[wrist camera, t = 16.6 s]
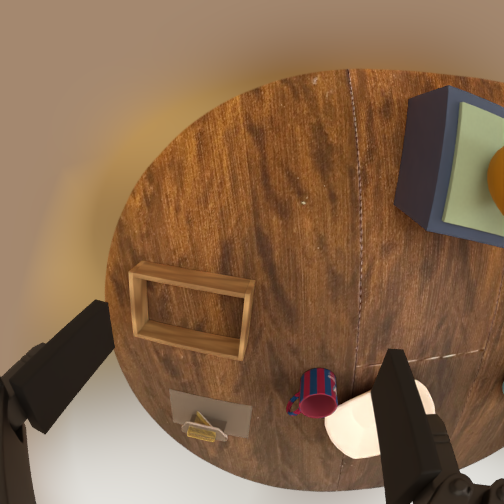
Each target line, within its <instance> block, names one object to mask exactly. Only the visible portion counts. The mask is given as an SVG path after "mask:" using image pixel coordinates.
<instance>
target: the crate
mask: <svg viewBox="0 0 504 504" xmlns="http://www.w3.org/2000/svg"><path fill="white" fill-rule="evenodd" d="M460 102H465V103H468V104H470V105H473V106H475V107H478V108H480V109H483V110H485V111H488V112H490V113H492V114H495V115H497V116H499V117H502V118H504V107H501V106H499V105H497V104H495V103H493V102H490V101H488V100H486V99H483V98H481V97H478V96H476V95H473V94H471V93H468V92H466V91H463V90H461V89H458V88H455V87H452V86H450V85H448V86H445V87H442V88H439V89H436V90H433V91H430V92H427V93H424V94H421V95H418V96H415V97H413V98H410V99H409V102H408V112H407V121H406V129H405V137H404V145H403V152H402V158H401V165H400V171H399V177H398V183H397V188H396V194H395V199H394V205H395V206H396V207H397V208H399V209H400V210H401V211H402V212H404V213H405V214H406V215H408V216H409V217H410V218H411V219H413V220H414V221H415V222H416V223H418V224H419V225H420V226H421V227H423V228H424V229H425V230H426V231H429V232H434V233H439V234H444V235H448V236H453V237H458V238H462V239H467V240H471V241H476V242H480V243H484V244H489V245H493V246H497V247H501V248H504V236H500V235H496V234H492V233H488V232H484V231H480V230H476V229H472V228H468V227H464V226H460V225H455V224H451V223H447V222H444V221H442V216H443V211H444V207H445V202H446V197H447V192H448V187H449V182H450V176H451V170H452V164H453V158H454V151H455V144H456V136H457V127H458V117H459V106H460Z"/></svg>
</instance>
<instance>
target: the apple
mask: <svg viewBox="0 0 504 504" xmlns="http://www.w3.org/2000/svg"><path fill="white" fill-rule="evenodd" d="M487 183H488V189H489V192H490V194H491V196H492V199H493V201H494V202H495V204H496V206H497V207H498V209H499V210H500V212H501V213H502V215H503V216H504V146H503V147H502V148H500V149H499V150H498V151H497V152H496V153H495V155H494V156H493V157H492V159H491V161H490V164H489V167H488V171H487Z"/></svg>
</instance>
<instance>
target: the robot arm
mask: <svg viewBox="0 0 504 504" xmlns="http://www.w3.org/2000/svg"><path fill="white" fill-rule="evenodd" d="M114 348H115V345H114V340H113V334H112V327H111V321H110V314H109V307H108V303H107V302H103V301H99V300H94V301H93V302H92V303H91V304H90V305H89V306H87V307H86V308H85V309H84V310H83V311H82V312H81V313H79V314H78V315H77V316H76V317H75V318H74V319H73V320H72V321H71V322H70V323H68V324H67V325H66V326H65V327H64V328H63V329H62V330H61V331H59V332H58V333H57V334H56V335H55V336H54V337H53V338H52V339H51V340H50V341H49V342H47V343H46V344H45V343H41V344H39V345H37V346H35V347H33V348H32V349H31V350H30V351H29V352H27V353H26V355H24V356H23V357H22V358H21V360H19V361H18V362H17V363H16V364H15V365H13V366H12V367H11V368H10V369H9V370H8V371H7V372H6V373H5V374H4V375H3V376H2V377H0V504H36V501H35V495H34V490H33V484H32V478H31V472H30V464H29V456H28V448H27V447H28V446H27V435H26V427H25V424H24V422H25V421H26V419H27V418H28V420H29V422H30V424H31V425H32V427H33V428H35V429H37V430H38V431H40V432H42V433H44V434H46V433H47V432H48V431H49V429H50V428H51V427H52V425H53V424H54V423H55V421H56V420H57V419H58V417H59V416H60V415H61V414H62V412H63V411H64V410H65V409H66V407H67V406H68V405H69V403H70V402H71V401H72V400H73V398H74V397H75V396H76V395H77V393H78V392H79V391H80V390H81V388H82V387H83V386H84V385H85V383H86V382H87V381H88V380H89V379H90V377H91V376H92V375H93V374H94V372H95V371H96V370H97V369H98V367H99V366H100V365H101V364H102V363H103V361H104V360H105V359H106V358H107V356H108V355H109V354H110V353H111V352H112V350H113V349H114ZM370 394H371V400H372V405H373V411H374V417H375V423H376V429H377V435H378V442H379V449H380V456H381V463H382V471H383V479H384V488H385V497H386V504H410V503H411V502H412V501H413V504H504V479H502V478H501V479H499V480H496V481H495V482H494V483H493V484H492V485H491V486H487V485H479V484H473V483H472V481H471V480H470V478H469V477H468V476H466V475H465V474H462V473H460V471H459V468H458V464H457V461H456V458H455V455H454V451H453V448H452V445H451V443H450V439H449V436H448V435H447V430H446V427H445V424H444V422H443V421H442V420H441V419H440V417H439V416H438V415H437V414H426V412H425V409H424V406H423V403H422V400H421V397H420V394H419V391H418V389H417V386H416V383H415V380H414V377H413V374H412V372H411V369H410V366H409V364H408V361H407V358H406V356H405V353H404V350H401V349H388V350H387V353H386V355H385V358H384V360H383V363H382V366H381V368H380V370H379V373H378V375H377V378H376V380H375V382H374V385H373V387H372V389H371V392H370Z"/></svg>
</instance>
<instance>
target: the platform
mask: <svg viewBox="0 0 504 504" xmlns="http://www.w3.org/2000/svg"><path fill="white" fill-rule="evenodd" d="M169 392H170V401H171V409H172V417H173V422H174V423H178V424H182V425H183V426H182V428H181V429H182V432H184V433H187V435H188V436H189V437H191V436H195V435H196V436H200V437H205V438H206V439H201V440H206V441H208V440H207V439H211V440H212V439H214V440H219V441H224V442H226V441H227V435H232V436H237V437H243V438H248V434H249V427H250V420H251V413H252V406H248V405H242V404H236V403H231V402H226V401H220V400H215V399H211V398H206V397H201V396H197V395H192V394H188V393H184V392H180V391H176V390H172V389H169ZM189 434H192V435H189ZM200 437H193V438H197V439H199V438H200ZM210 442H214V441H213V440H212V441H210Z"/></svg>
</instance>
